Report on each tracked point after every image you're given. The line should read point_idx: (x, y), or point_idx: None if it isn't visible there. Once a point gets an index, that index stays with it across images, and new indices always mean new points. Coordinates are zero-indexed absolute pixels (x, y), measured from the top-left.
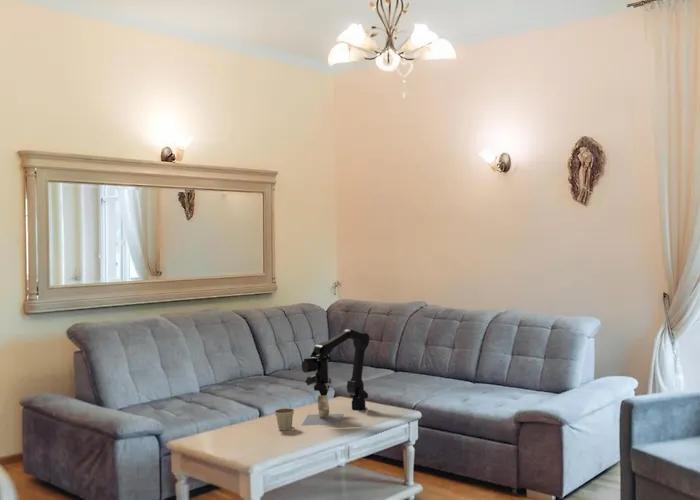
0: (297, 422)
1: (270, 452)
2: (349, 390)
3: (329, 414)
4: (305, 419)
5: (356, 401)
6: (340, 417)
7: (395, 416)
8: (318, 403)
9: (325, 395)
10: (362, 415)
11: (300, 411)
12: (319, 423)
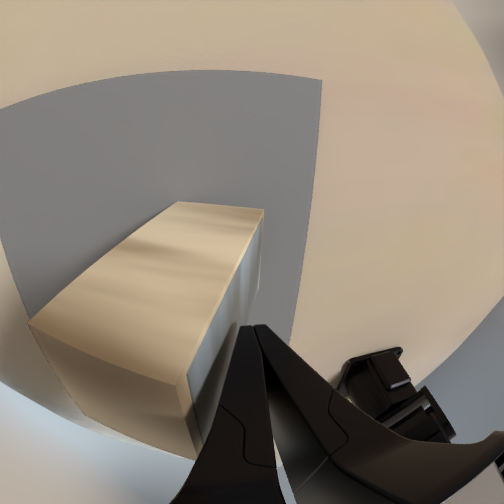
0: (89, 32)
1: None
2: (414, 438)
3: (290, 266)
4: (130, 79)
5: (368, 408)
6: None
7: None
8: (66, 300)
9: (190, 449)
10: None
11: (439, 46)
12: (23, 238)
